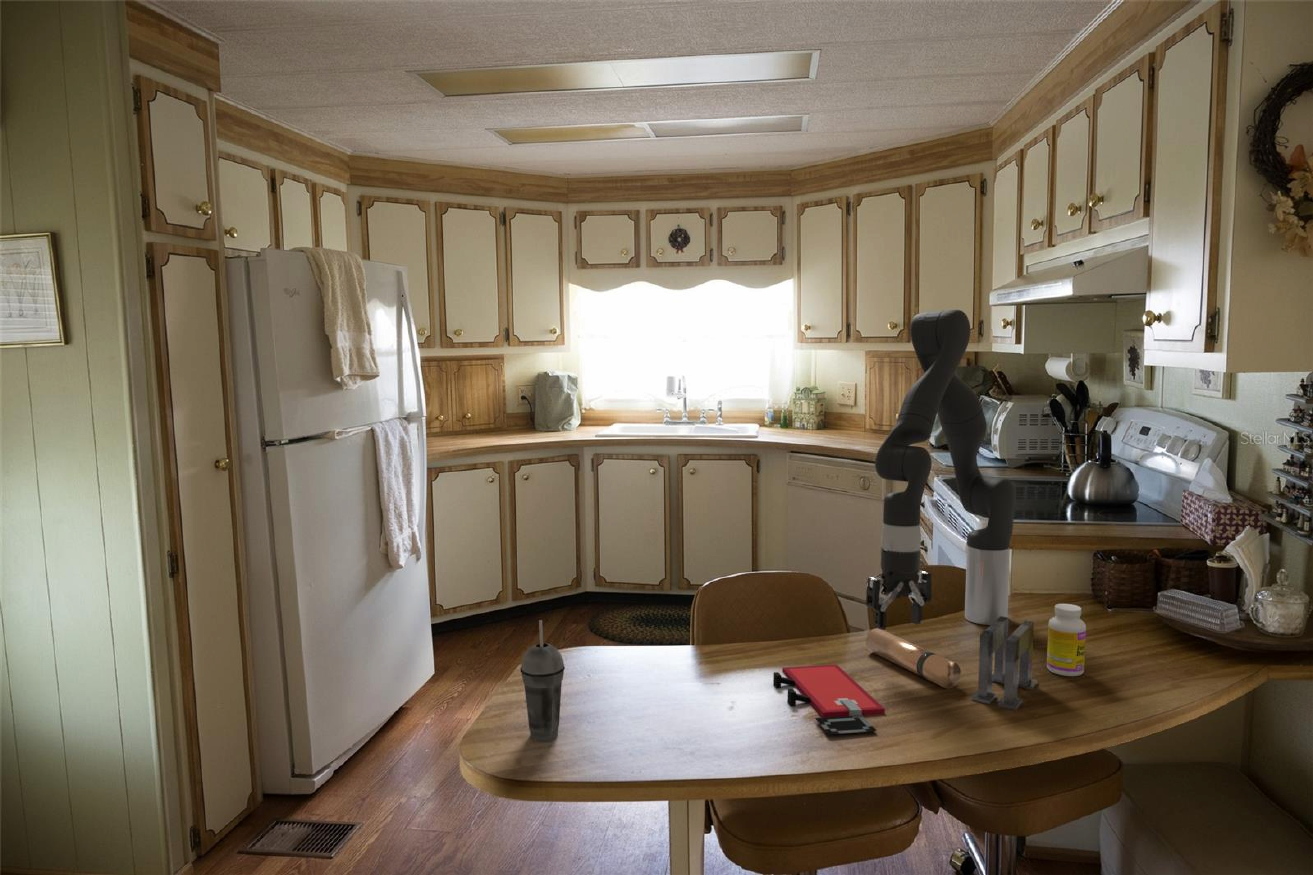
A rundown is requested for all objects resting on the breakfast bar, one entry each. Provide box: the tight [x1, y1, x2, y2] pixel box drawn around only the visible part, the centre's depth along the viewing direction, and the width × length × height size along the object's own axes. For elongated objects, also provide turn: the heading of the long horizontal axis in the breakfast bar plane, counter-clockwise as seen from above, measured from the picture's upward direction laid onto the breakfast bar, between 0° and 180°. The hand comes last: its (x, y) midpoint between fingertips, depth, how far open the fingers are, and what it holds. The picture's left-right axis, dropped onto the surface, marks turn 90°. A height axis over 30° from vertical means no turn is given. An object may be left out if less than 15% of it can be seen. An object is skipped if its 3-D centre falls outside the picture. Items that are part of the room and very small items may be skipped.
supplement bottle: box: [1046, 603, 1087, 677], centre depth 175 cm, size 7×7×13 cm
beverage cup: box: [520, 619, 566, 743], centre depth 149 cm, size 7×7×20 cm
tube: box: [865, 627, 962, 690], centre depth 177 cm, size 22×5×5 cm, turn 24°
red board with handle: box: [772, 664, 886, 735], centre depth 163 cm, size 30×3×15 cm
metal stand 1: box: [971, 616, 1009, 705], centre depth 167 cm, size 15×3×12 cm, turn 144°
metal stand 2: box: [996, 620, 1038, 711], centre depth 164 cm, size 15×3×12 cm, turn 144°
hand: (898, 626), depth 180 cm, fingers open, 8 cm apart
